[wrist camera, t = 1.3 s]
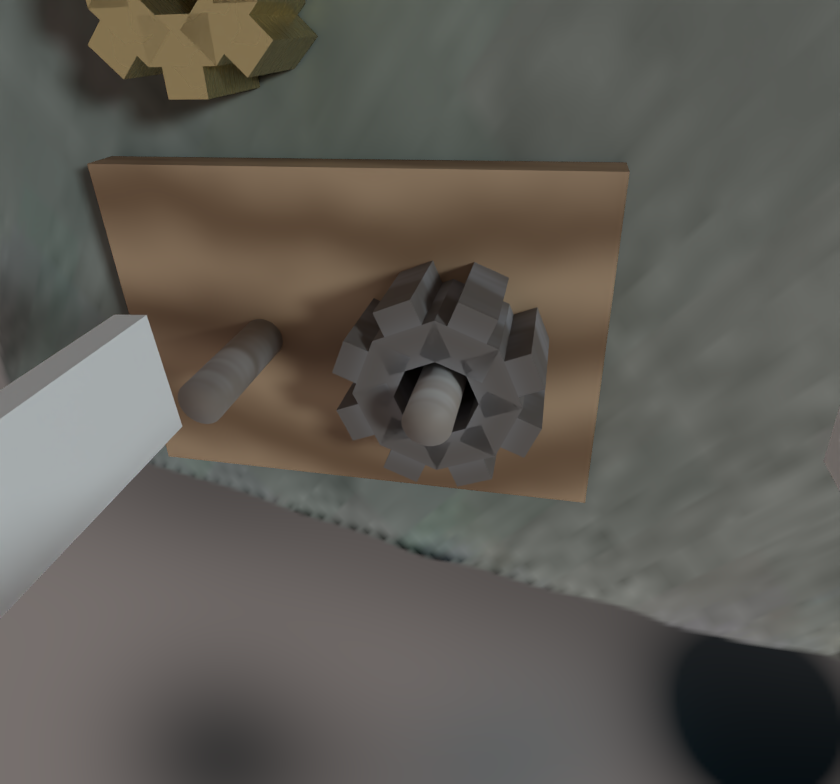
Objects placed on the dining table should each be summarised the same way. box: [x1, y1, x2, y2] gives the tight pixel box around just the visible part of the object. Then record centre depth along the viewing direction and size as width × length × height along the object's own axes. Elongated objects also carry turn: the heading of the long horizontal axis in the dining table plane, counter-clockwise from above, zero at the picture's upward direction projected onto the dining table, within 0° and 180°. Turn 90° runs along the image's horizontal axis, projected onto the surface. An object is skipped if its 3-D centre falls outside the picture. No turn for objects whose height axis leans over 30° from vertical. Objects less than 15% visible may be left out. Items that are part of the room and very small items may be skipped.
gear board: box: [87, 156, 629, 503], centre depth 32 cm, size 18×26×9 cm
